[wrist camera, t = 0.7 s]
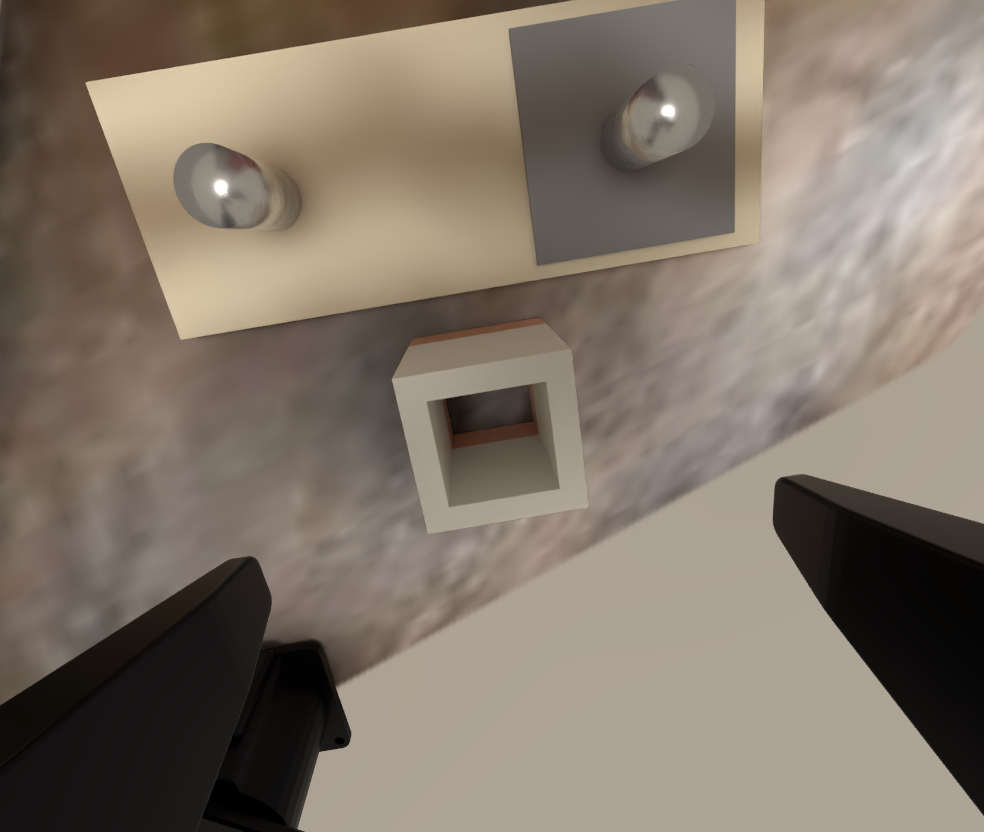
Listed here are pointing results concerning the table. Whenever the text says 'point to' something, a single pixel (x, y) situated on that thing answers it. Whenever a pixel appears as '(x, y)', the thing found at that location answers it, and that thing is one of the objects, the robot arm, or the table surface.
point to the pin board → (442, 157)
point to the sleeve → (497, 451)
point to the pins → (277, 200)
